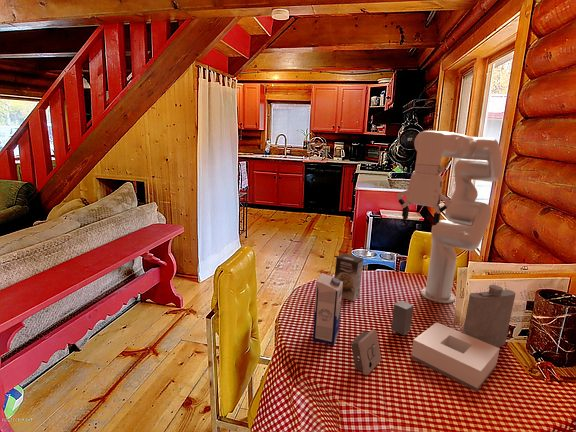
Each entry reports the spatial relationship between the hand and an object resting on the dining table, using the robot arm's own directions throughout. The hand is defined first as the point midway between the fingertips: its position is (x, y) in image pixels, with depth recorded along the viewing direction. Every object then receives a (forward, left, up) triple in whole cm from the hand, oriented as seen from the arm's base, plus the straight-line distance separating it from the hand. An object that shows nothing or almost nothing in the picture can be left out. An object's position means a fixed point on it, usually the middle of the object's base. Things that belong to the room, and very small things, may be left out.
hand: (419, 221), depth 118 cm
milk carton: (+32, -11, -35) cm, 49 cm away
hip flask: (-3, +24, -35) cm, 43 cm away
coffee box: (+3, -25, -35) cm, 43 cm away
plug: (+11, +3, -35) cm, 37 cm away
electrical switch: (+34, +5, -35) cm, 49 cm away
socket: (+13, +21, -35) cm, 43 cm away
